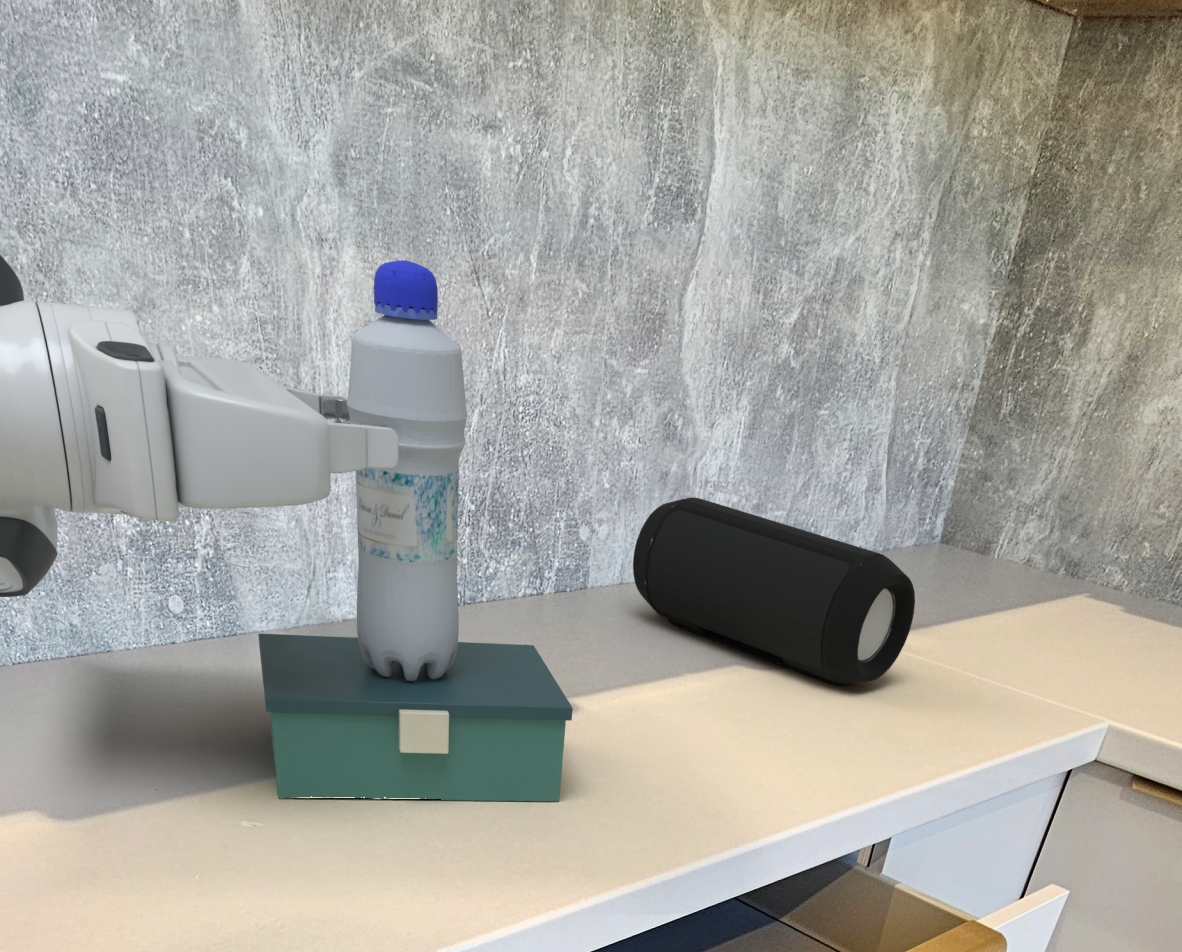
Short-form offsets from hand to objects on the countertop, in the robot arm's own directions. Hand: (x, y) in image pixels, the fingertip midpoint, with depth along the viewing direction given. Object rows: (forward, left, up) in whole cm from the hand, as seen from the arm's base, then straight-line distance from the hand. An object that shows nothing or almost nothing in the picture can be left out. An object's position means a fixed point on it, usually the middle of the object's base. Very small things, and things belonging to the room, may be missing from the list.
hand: (372, 431), depth 67 cm
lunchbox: (+2, 0, -18) cm, 19 cm away
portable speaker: (+37, +29, -19) cm, 51 cm away
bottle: (+2, 0, -13) cm, 13 cm away
